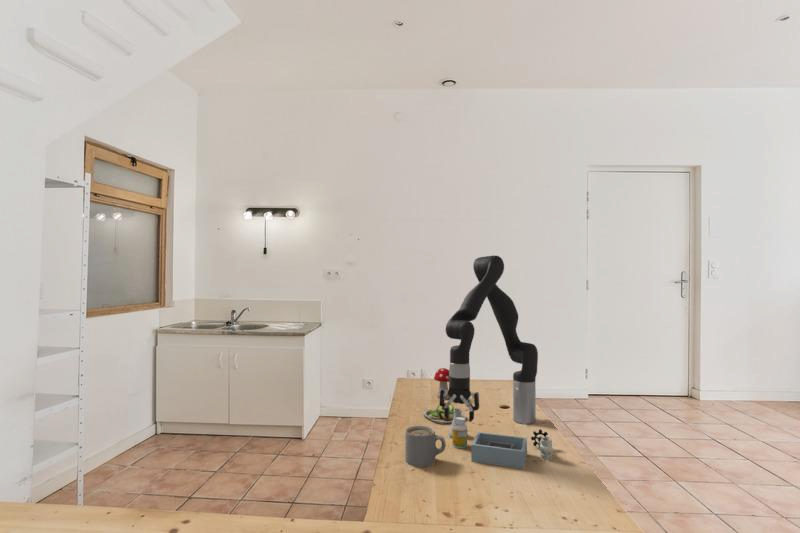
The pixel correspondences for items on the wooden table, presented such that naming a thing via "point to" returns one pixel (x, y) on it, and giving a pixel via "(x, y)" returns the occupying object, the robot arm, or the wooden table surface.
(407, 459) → the coffee mug
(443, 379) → the decorative mushroom
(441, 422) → the salad plate
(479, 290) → the robot arm
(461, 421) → the supplement bottle
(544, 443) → the valve
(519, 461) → the walled box
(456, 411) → the flask
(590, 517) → the wooden table surface
